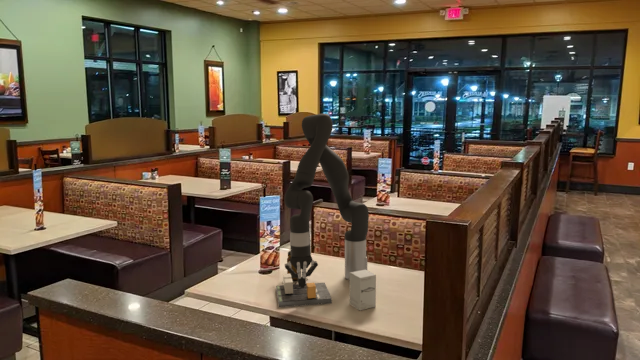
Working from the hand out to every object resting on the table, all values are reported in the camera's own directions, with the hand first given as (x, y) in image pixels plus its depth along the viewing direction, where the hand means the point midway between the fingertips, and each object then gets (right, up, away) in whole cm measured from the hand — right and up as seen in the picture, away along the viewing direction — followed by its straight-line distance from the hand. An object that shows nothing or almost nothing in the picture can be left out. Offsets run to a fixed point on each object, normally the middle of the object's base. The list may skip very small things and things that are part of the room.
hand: (302, 287), depth 183 cm
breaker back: (-6, -2, +12) cm, 13 cm away
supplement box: (+23, -7, -2) cm, 24 cm away
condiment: (-4, -3, +27) cm, 27 cm away
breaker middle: (-5, -3, +6) cm, 9 cm away
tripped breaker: (+3, -4, +1) cm, 5 cm away
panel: (0, -5, +7) cm, 9 cm away
